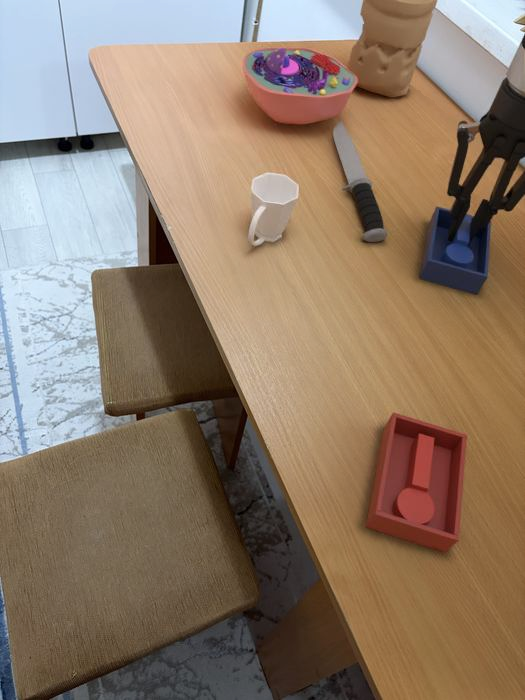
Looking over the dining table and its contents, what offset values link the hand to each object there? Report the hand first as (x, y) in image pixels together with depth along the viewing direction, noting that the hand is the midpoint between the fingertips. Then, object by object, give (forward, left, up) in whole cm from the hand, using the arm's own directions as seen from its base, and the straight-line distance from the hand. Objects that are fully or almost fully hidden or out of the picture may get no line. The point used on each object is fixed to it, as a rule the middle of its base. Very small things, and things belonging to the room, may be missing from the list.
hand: (458, 237), depth 87 cm
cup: (+3, +29, -3) cm, 29 cm away
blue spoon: (-2, +1, 0) cm, 2 cm away
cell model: (+35, +19, -3) cm, 40 cm away
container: (+46, 0, -3) cm, 46 cm away
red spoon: (-37, +18, -2) cm, 41 cm away
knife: (+16, +12, -3) cm, 21 cm away
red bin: (-37, +18, -3) cm, 41 cm away
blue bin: (-2, +1, -3) cm, 3 cm away
